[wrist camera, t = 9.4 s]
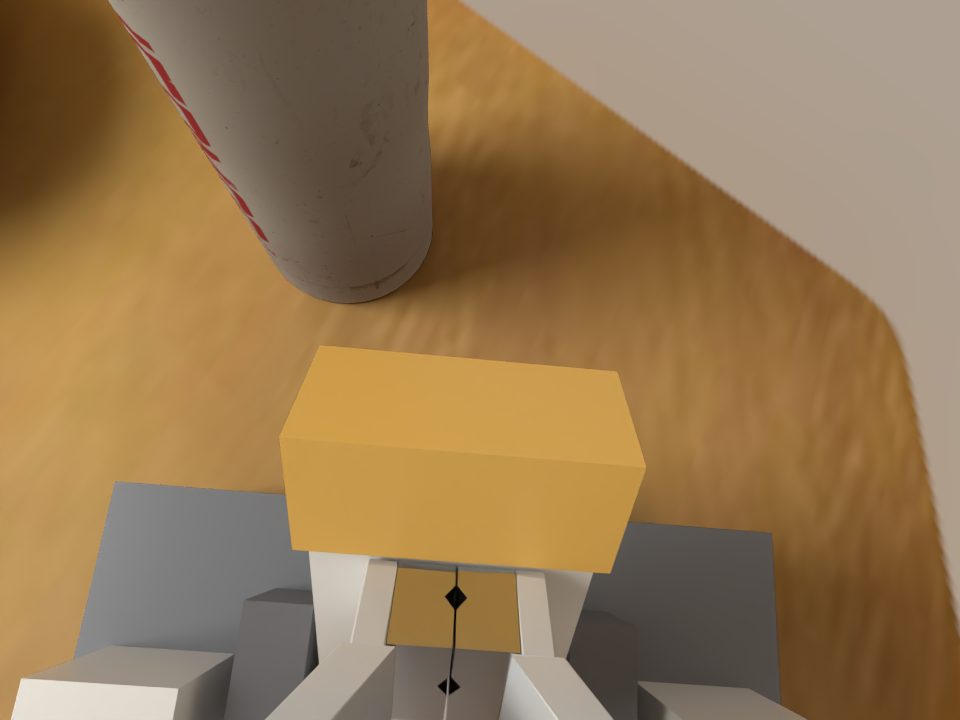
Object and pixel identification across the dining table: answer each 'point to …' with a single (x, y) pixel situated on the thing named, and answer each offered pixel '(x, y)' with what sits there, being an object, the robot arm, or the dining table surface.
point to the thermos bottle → (308, 126)
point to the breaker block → (292, 630)
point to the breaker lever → (456, 474)
